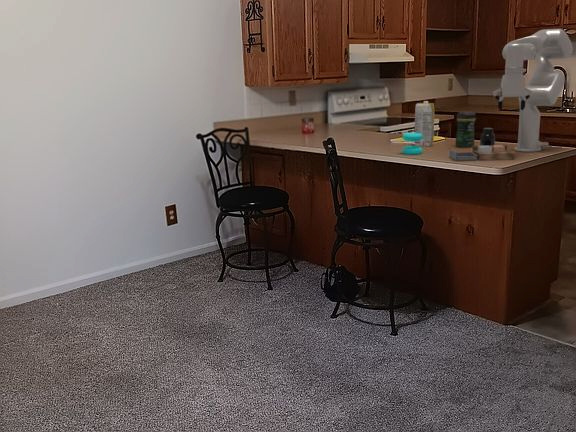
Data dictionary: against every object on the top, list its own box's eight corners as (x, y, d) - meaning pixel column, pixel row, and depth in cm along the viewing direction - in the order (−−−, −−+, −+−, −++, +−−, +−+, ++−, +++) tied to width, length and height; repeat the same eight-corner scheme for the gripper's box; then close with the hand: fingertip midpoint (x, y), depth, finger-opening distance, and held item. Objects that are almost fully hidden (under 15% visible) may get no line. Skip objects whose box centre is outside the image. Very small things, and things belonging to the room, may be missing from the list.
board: (505, 155, 281) (506, 144, 280) (514, 159, 270) (515, 148, 268) (472, 156, 282) (472, 146, 281) (479, 160, 270) (479, 149, 269)
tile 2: (501, 150, 277) (501, 145, 277) (504, 152, 272) (505, 146, 272) (490, 150, 277) (490, 145, 277) (493, 152, 273) (494, 147, 272)
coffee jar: (464, 148, 307) (465, 112, 302) (452, 146, 314) (454, 111, 309) (477, 146, 312) (478, 111, 307) (465, 144, 318) (467, 110, 313)
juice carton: (434, 144, 323) (435, 100, 316) (429, 146, 316) (430, 101, 310) (418, 144, 328) (419, 100, 322) (413, 146, 321) (413, 101, 315)
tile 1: (488, 150, 277) (488, 145, 277) (491, 152, 273) (491, 147, 272) (477, 151, 278) (477, 145, 277) (480, 152, 273) (481, 147, 272)
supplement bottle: (477, 152, 291) (478, 128, 288) (483, 151, 296) (485, 127, 293) (490, 154, 286) (491, 129, 283) (496, 152, 291) (498, 128, 288)
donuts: (411, 132, 301) (426, 133, 294) (411, 151, 304) (426, 153, 296) (398, 134, 296) (413, 135, 288) (398, 153, 298) (412, 155, 290)
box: (470, 156, 282) (470, 148, 281) (477, 160, 270) (477, 151, 269) (449, 157, 282) (449, 148, 281) (455, 161, 271) (456, 152, 270)
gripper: (531, 71, 270) (528, 109, 274) (492, 72, 272) (490, 109, 276) (535, 71, 262) (532, 110, 267) (496, 72, 265) (493, 110, 269)
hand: (511, 109), depth 271 cm, fingers open, 9 cm apart
